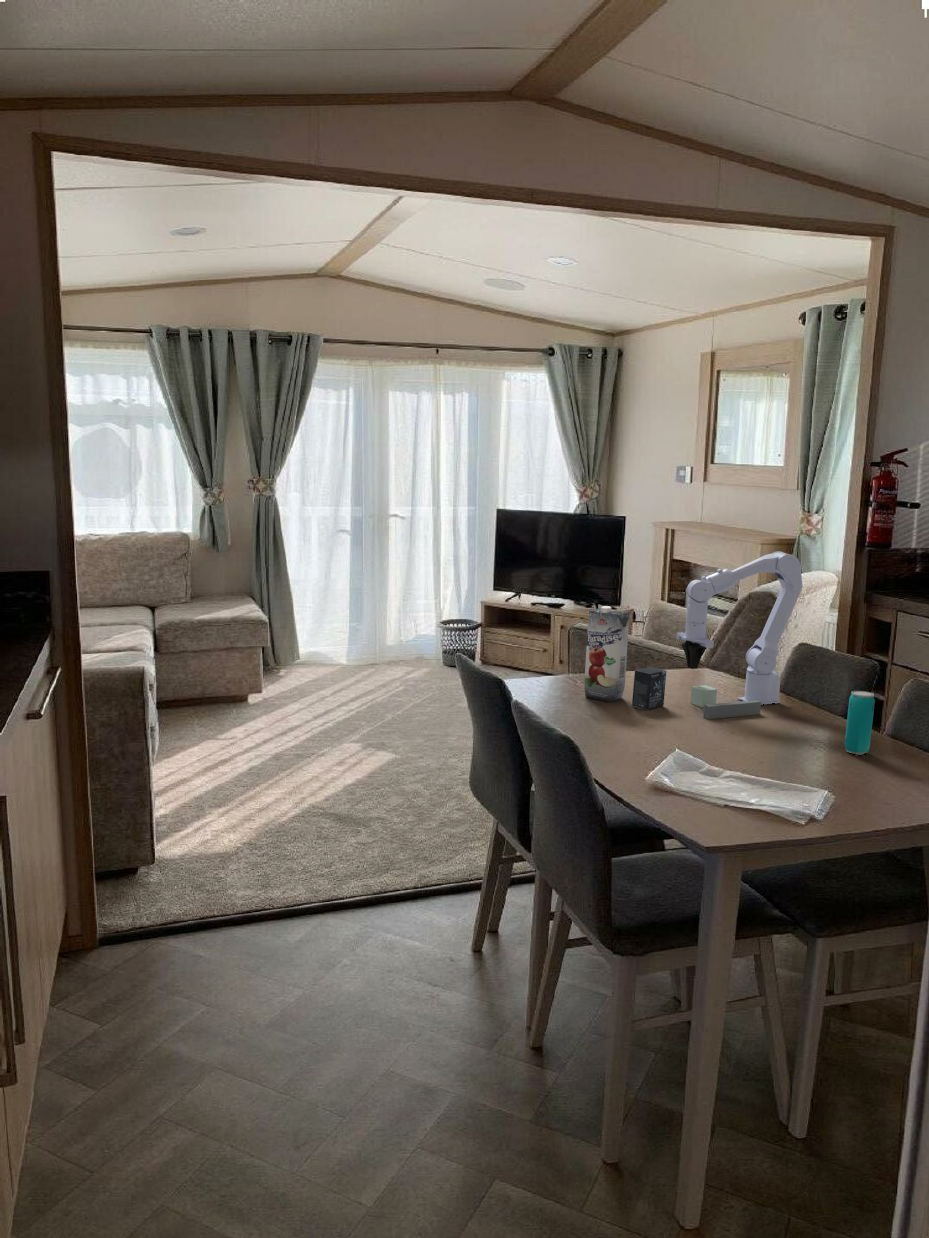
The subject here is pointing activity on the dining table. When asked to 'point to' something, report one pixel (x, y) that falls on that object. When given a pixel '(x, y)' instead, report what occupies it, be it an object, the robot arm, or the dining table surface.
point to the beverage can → (859, 722)
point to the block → (703, 695)
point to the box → (649, 688)
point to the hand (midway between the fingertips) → (692, 667)
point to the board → (732, 709)
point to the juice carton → (606, 653)
